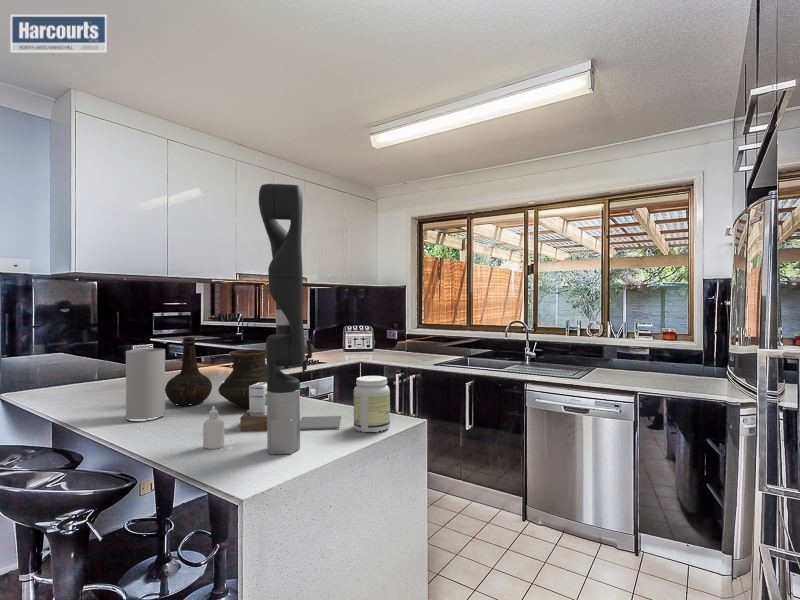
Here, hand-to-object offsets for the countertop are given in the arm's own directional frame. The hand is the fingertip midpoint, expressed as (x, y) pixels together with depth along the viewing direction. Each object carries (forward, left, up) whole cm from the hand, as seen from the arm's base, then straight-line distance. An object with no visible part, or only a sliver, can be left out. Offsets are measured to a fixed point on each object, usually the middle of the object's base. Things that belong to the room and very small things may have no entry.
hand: (290, 372), depth 141 cm
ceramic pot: (+39, +22, -20) cm, 49 cm away
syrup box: (+9, +11, -20) cm, 25 cm away
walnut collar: (+9, +11, -20) cm, 25 cm away
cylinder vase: (+24, +56, -20) cm, 65 cm away
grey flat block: (+9, -9, -20) cm, 23 cm away
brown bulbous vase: (+46, +49, -20) cm, 71 cm away
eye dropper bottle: (-12, +20, -20) cm, 31 cm away
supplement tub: (+2, -27, -20) cm, 33 cm away
